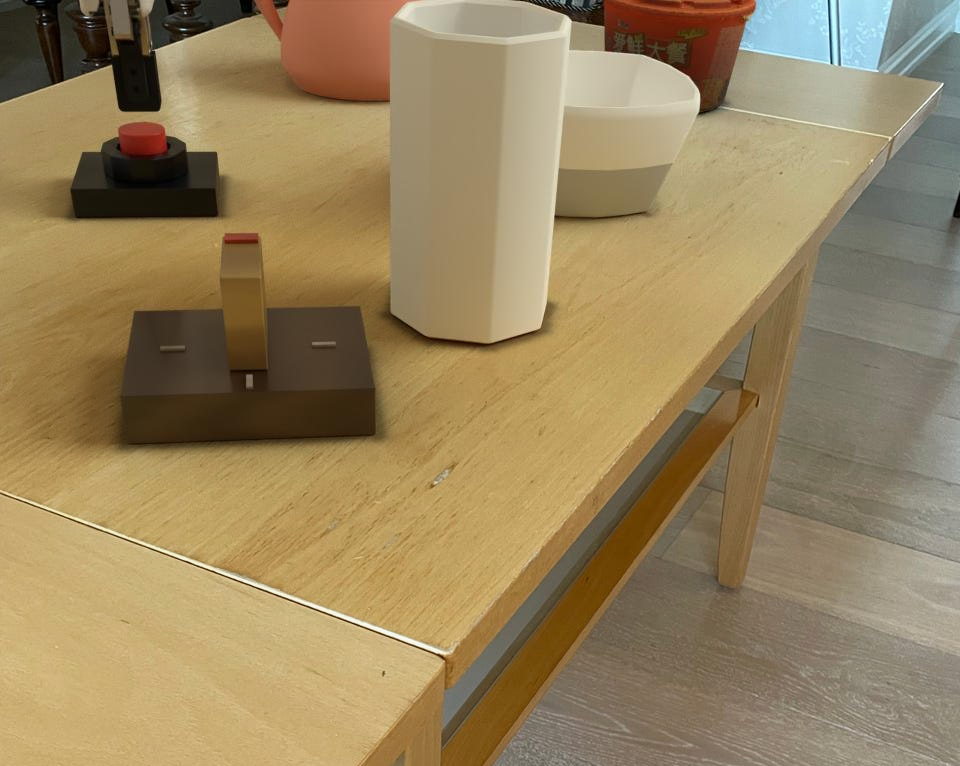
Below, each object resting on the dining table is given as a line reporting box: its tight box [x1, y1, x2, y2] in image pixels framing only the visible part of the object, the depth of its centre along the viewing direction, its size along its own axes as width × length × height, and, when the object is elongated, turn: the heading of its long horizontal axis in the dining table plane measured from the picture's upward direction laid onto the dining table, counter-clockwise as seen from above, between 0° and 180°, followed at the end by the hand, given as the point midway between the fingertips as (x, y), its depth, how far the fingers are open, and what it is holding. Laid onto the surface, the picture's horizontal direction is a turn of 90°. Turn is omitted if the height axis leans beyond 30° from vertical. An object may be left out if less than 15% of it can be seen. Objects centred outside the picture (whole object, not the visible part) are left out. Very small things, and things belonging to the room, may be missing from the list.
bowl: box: [554, 49, 700, 218], centre depth 97 cm, size 18×18×9 cm
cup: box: [389, 0, 573, 345], centre depth 75 cm, size 11×11×18 cm
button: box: [117, 121, 167, 155], centre depth 92 cm, size 4×4×2 cm
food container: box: [603, 0, 757, 113], centre depth 120 cm, size 16×16×11 cm
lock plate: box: [119, 305, 377, 445], centre depth 69 cm, size 14×11×3 cm
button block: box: [69, 135, 221, 218], centre depth 93 cm, size 11×9×4 cm
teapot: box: [253, 0, 422, 102], centre depth 119 cm, size 25×17×13 cm
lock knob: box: [219, 232, 268, 370], centre depth 66 cm, size 6×2×6 cm, turn 8°
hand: (140, 108), depth 90 cm, fingers closed
